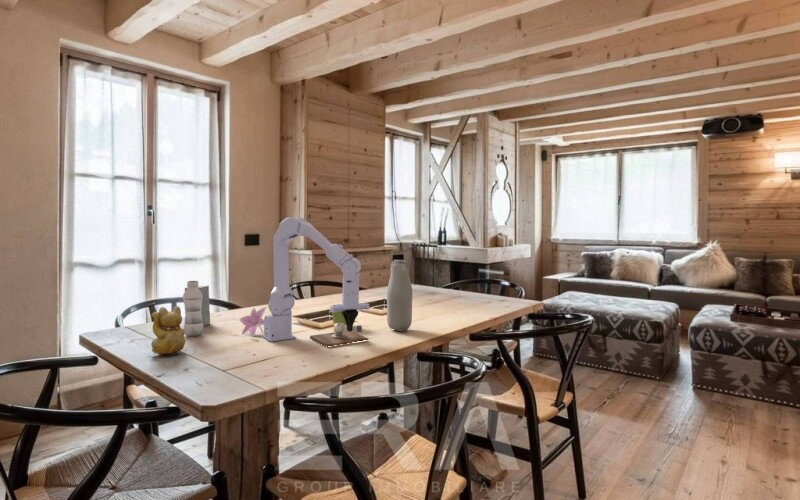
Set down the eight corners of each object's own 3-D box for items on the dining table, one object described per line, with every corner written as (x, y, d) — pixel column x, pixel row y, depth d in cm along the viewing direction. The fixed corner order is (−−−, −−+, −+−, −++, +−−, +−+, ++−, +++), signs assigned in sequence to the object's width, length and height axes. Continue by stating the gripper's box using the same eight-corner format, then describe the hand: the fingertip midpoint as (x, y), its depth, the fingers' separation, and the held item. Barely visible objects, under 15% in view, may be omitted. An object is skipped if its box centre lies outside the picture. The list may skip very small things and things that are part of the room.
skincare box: (202, 328, 181) (201, 287, 180) (183, 327, 181) (183, 287, 180) (211, 323, 190) (210, 284, 189) (193, 322, 190) (193, 284, 189)
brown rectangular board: (327, 347, 156) (327, 339, 156) (310, 339, 167) (310, 330, 167) (368, 341, 165) (368, 333, 165) (349, 333, 176) (349, 325, 176)
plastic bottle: (196, 338, 165) (195, 282, 164) (179, 337, 166) (178, 282, 165) (207, 334, 171) (206, 280, 170) (190, 333, 173) (190, 279, 171)
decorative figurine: (179, 348, 152) (178, 303, 151) (191, 353, 147) (191, 306, 146) (148, 355, 144) (147, 307, 143) (159, 360, 139) (159, 311, 138)
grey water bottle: (412, 328, 187) (413, 258, 185) (410, 334, 177) (411, 261, 175) (388, 327, 188) (389, 258, 186) (384, 333, 178) (385, 260, 176)
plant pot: (341, 331, 179) (341, 309, 179) (324, 328, 185) (324, 306, 184) (358, 327, 187) (358, 306, 186) (341, 324, 192) (341, 303, 192)
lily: (239, 333, 178) (231, 314, 173) (267, 318, 184) (260, 299, 179) (250, 349, 170) (241, 329, 165) (279, 333, 175) (272, 314, 170)
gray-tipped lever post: (360, 333, 164) (360, 325, 163) (333, 332, 164) (333, 324, 164) (362, 330, 167) (362, 323, 167) (335, 329, 168) (335, 322, 168)
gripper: (337, 295, 156) (336, 335, 156) (374, 293, 164) (373, 331, 165) (328, 292, 161) (327, 331, 162) (364, 290, 170) (363, 327, 170)
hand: (349, 330), depth 164 cm, fingers closed, pressing on gray-tipped lever post
